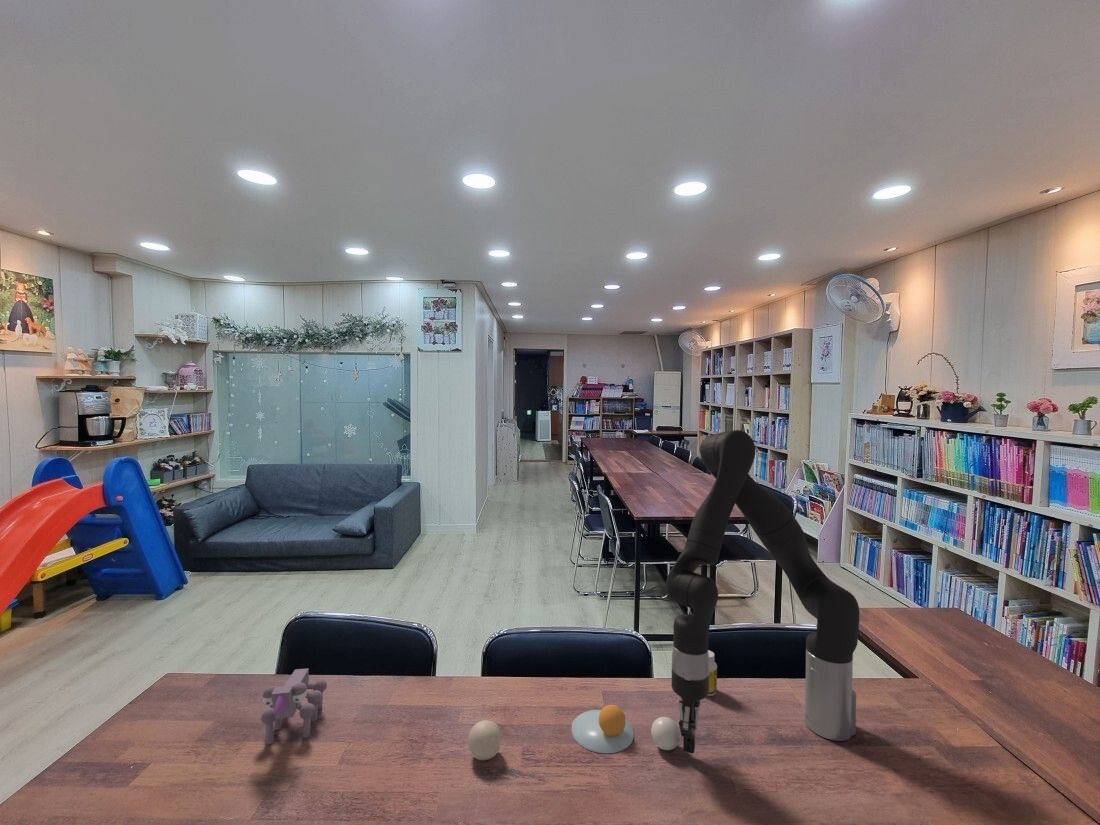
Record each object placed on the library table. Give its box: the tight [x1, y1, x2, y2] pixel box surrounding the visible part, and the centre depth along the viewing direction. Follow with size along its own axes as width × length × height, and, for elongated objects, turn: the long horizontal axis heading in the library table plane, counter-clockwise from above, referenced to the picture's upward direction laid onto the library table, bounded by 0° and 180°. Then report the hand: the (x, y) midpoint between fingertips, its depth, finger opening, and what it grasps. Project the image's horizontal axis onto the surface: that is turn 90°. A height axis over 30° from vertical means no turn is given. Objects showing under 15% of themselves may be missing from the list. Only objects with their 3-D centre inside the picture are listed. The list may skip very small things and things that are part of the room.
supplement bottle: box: [707, 649, 718, 697], centre depth 121 cm, size 5×5×10 cm
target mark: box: [571, 709, 635, 755], centre depth 106 cm, size 14×14×1 cm
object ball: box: [599, 704, 627, 737], centre depth 105 cm, size 6×6×6 cm
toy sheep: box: [260, 668, 328, 745], centre depth 103 cm, size 20×11×14 cm, turn 11°
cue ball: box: [650, 716, 681, 751], centre depth 101 cm, size 6×6×6 cm
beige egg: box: [467, 719, 502, 761], centre depth 98 cm, size 7×7×7 cm
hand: (689, 750), depth 98 cm, fingers closed
